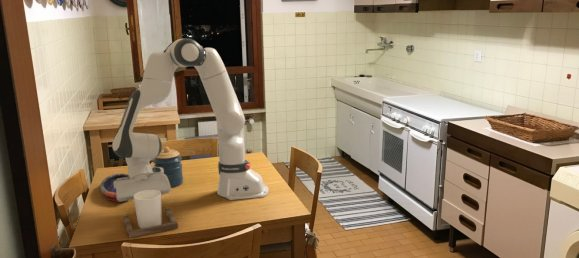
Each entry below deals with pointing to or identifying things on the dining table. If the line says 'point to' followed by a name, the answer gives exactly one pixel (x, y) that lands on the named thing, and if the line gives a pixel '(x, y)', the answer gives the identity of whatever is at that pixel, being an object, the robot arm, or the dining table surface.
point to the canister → (170, 166)
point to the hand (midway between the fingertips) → (146, 206)
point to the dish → (110, 186)
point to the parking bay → (153, 229)
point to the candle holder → (148, 208)
